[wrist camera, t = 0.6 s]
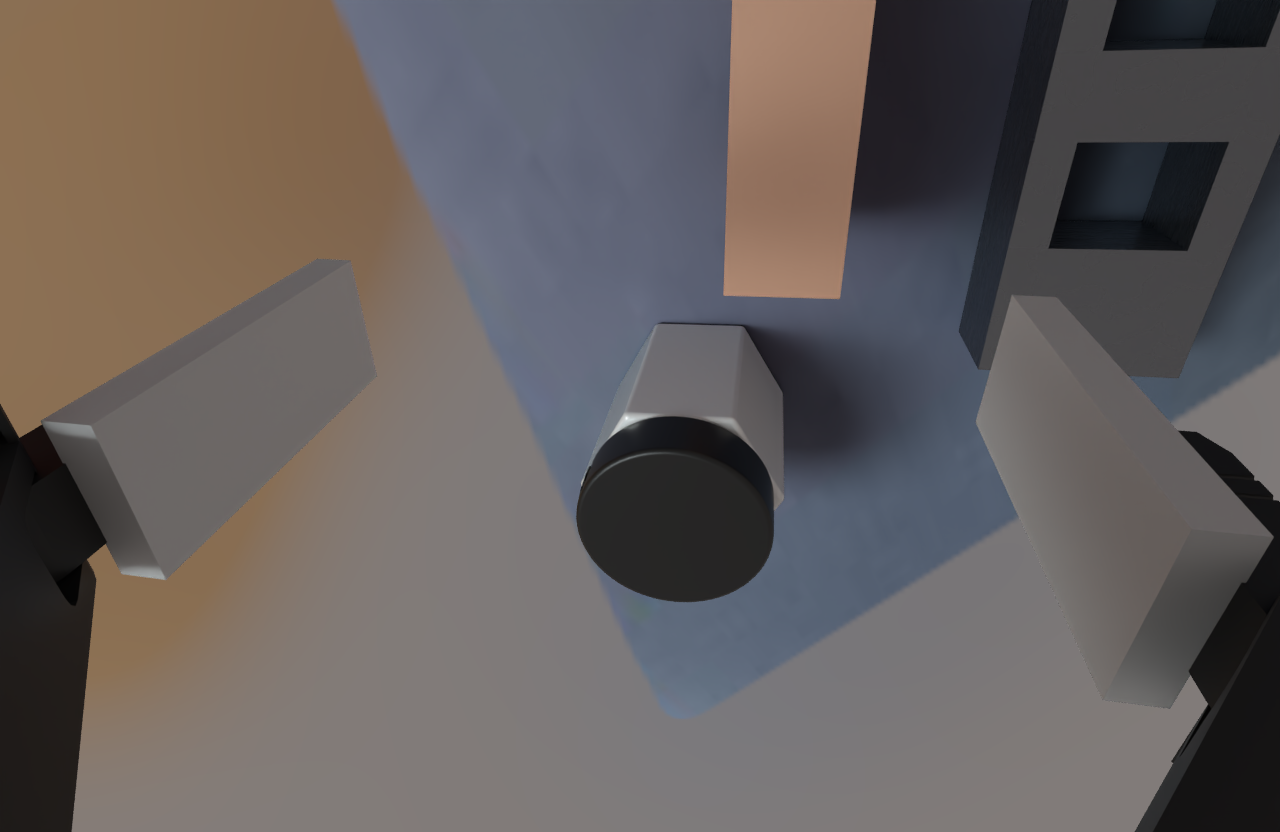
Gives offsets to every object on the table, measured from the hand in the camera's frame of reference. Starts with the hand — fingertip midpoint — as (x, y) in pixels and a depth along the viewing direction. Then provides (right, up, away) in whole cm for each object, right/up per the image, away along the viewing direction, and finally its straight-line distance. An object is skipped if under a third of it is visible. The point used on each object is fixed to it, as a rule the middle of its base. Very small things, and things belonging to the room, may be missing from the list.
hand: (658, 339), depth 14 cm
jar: (+3, 0, +24) cm, 24 cm away
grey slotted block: (+19, +12, +14) cm, 26 cm away
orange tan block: (+6, +13, +16) cm, 21 cm away
